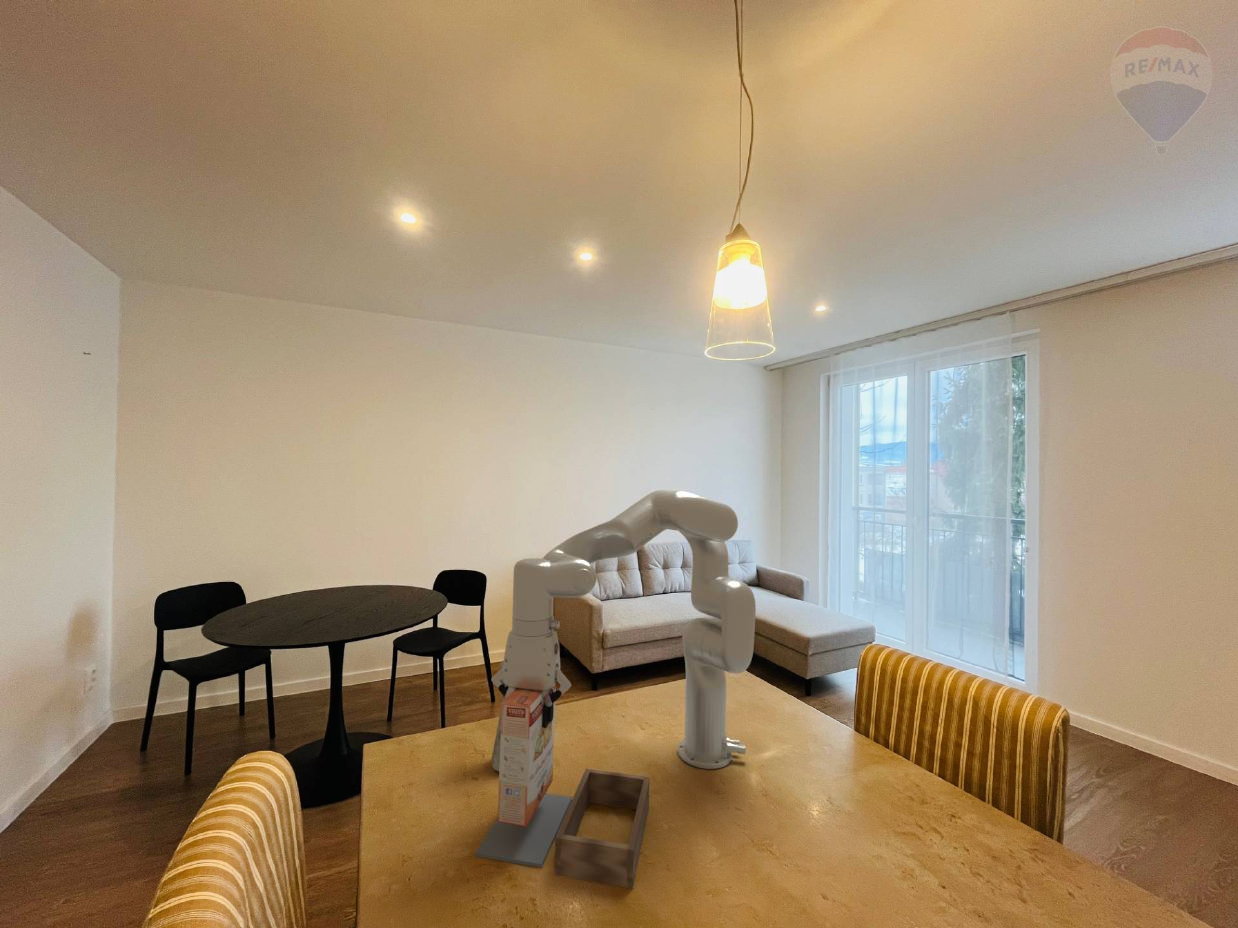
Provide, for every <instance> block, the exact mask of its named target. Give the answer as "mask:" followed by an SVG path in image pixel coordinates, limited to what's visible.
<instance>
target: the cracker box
mask: <svg viewBox="0 0 1238 928" xmlns="http://www.w3.org/2000/svg"><path fill="white" fill-rule="evenodd" d="M553 688H554V691H556V690H557V682H555V683H554V687H553ZM544 704H545V701H544V698H543V695H542V692H541V691H540V690H530V689H521V688H516V689H515V690H514V691H513V692H512V693H511V694H510V695H509V696H508V697H507V698H506V699H505V700H504V701H503V702H502V701H501V705H502V713H501V739H500V767H499V771H498V773H499V774H498V798H497V802H498V803H497V818H498V822H502V823H507V824H513V825H519V826H524V827H527V825H528V823H529V821H530V819H531V818H532V816H533V814H534V812H535V811H536V809H537V807H538V805H539V804H540V802H541V800H542V798H543V797H544V795H545V793H547V792H548V790H549V788H550V786H551V784H552V782H553V780H554V779H553V777H554V775H553V774H554V748H555V721H556V719H555V718H556V717H555V716H556V712H555V711H556V701H555V702H554V714H553V720H552V722H550V723H549V725H548V726H547V728H543V727H542V711H543V706H544Z"/></svg>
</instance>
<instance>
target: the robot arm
mask: <svg viewBox="0 0 1238 928" xmlns="http://www.w3.org/2000/svg"><path fill="white" fill-rule="evenodd" d="M738 526H739V521H738V515H737V514H736V511H735V510H734V509H733V508H732V507H731V506H729V504H726V503H723V502H721V501H720V502H719V501H718V500H717V501H716V500H713V499H710V498H708V497H707V498H706V497H703V496H701V495H697V494H694V493H691V492H687V491H684V490H683V491H681V490H666V489H665V490H654V491H653V492H650V493H648V494H647V495H645V496H644V497H642V498H640V499H639V500H638V501H637V502H635V503H633V504H632V505H631V506H629V507H628V508H627V509H624V511H622V512H620V513H619V514H618V515H616V516H615V517H613V518H612V519H610V520H607V521H606V522H602V523H599V524H597V525H596V526H593V527H590V528H588V529H587V530H583V531H581V532H579V533H577V534H574V535H572V536H571V537H568V538H567V539H566V540H564V541H562V542H560V544H558V545H557V546H555V547H554V548H552V549H551V550H549V551H548V552H547V553H546V554H545V555H544V556H543V557H542V558H534V557H533V558H532V557H531V558H524V559H520V560H518V561H517V562H516V563H515V564H514V566H513V588H512V617H511V618H512V621H511V630H510V631H508V635H507V640H506V644H505V650H504V655H503V660H504V664H503V667H502V668H501V669H500V668H499V670H498V671H497V672H496V673H495V674H494V675H493V676H492V677H491V682H492V683H493V684H494V685H495V687H497V688H498V691H499V692H500V693H501V695H502V697H503V696H504V697H505V698H504V699H506V698H507V697H508V696H509V695H510V694H511V693H512V692H513V691H514V690H515V689H516V688H521V689H530V690H540V691H541V692H542V695H543V698H544V701H545V704H544V706H543V711H542V727H543V728H547V726H548V725H549V723H550V722H552V720H553V714H554V702H555V703H556V701H557V700H559V698H560V697H561V696H562V695H564V694H565V693H566V692H567V691H569V689H570V688H571V687H572V682H570V680H569V679H568V678H567V677H566V675H565V674H564V673H563V672H562V670H561V657H560V644H559V643H560V642H559V638H558V633H557V631H555V630H558V629H560V626H561V622H560V621H559V620H555V616H554V614H553V613H554V598H572V599H573V598H575V599H576V598H581V597H584V596H586V595H588V594H589V593H590V592H592V591H593V589H594V587H595V585H597V584H596V582H597V579H598V578H597V571H596V569H595V567H594V566H593V565H592V564H594V563H596V562H598V561H603V560H606V559H607V560H608V559H614V558H616V559H617V558H622V557H627V556H630V555H633V554H635V553H636V552H637V551H639V550H640V549H642V548H643V547H644V546H645V545H647V544H648V543H649V542H650V541H652V540H653V539H654V538H656V537H657V536H659V535H660V534H661V533H662V532H664V531H667V530H672V531H677V532H679V533H680V534H681V535H682V536H683V537H684V538H685V540H686V541H687V543H688V544H689V547H690V549H691V553H692V554H691V555H692V570H691V585H690V587H691V588H690V600H691V605H692V606H693V608H694V609H695V610H696V611H698V612H699V613H702V614H704V615H707V616H710V617H713V618H716V619H719V620H721V622H719V621H715V620H712V619H709V618H707V617H706V618H705V617H704V618H703V617H697V618H694V619H692V620H690V621H689V622H687V624H686V625H685V627H684V629H683V631H682V632H683V633H682V637H681V642H682V651H683V655H684V663H685V664H684V665H685V697H684V698H685V699H684V700H685V701H684V702H685V703H684V705H685V707H684V708H685V710H684V711H685V712H684V719H685V720H684V739H682V740H681V741H680V742H679V743H678V747H677V753H678V756H679V758H680V759H681V760H683V762H685V763H687V764H688V765H691V766H693V767H696V768H699V769H706V770H716V769H720V768H724V767H726V766H727V765H729V764H730V763H731V762H732V759H733V753H734V754H735V753H736V754H739V755H741V754H742V755H746V744H742V743H741V744H740V739H730V737H728V733H727V730H726V729H727V728H726V726H727V725H726V722H727V717H726V716H727V715H726V714H727V676H726V673H729V674H734V675H739V674H741V673H743V672H745V671H746V670H747V669H748V668H749V666H750V665H751V662H752V658H753V656H754V648H755V632H756V631H755V629H756V628H755V627H756V613H757V611H756V609H757V608H756V606H757V605H756V599H755V595H754V592H753V590H752V589H751V587H750V586H749V585H748V584H747V583H745V582H743V581H741V580H738V579H734V578H730V577H729V552H728V548H727V545H726V543H725V542H726V541H729V540H730V539H732V538H733V537H734V536H735V534H736V532H737V530H738ZM725 672H726V673H725ZM502 677H503V678H502ZM555 682H556V683H558V684H559V685H560V686H559V687H558V688H556V691H554V688H553V687H554V683H555Z"/></svg>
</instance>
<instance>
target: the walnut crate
mask: <svg viewBox="0 0 1238 928" xmlns="http://www.w3.org/2000/svg"><path fill="white" fill-rule="evenodd" d="M589 803H590V804H596V805H597V804H598V805H602V806H603V805H604V806H610V807H618V808H625V809H631V810H636V812H635V816H634V818H633V819H634V820H633V823H632V828H631V833H630V836H629V841H628V843H627V844H626V843H619V842H613V841H607V840H599V839H594V838H587V837H582V836H577V835H578V831H579V830H580V829H579V828H580V827H581V824H582V821H583V819H584V816H585V814H586V811H587V808H588V806H589ZM649 809H650V776H644V775H638V774H637V775H636V774H628V773H621V772H616V771H615V772H614V771H605V770H598V769H592V768H585V770H584V771H583V774H582V776H581V779H580V781H579V783H578V786H577V788H576V790H575V793H574V794H573V797H572V801H571V803H570V806H569V808H568V810H567V812H566V815H565V817H564V819H563V821H562V824H561V826H560V828H559V830H558V833H557V835H556V837H555V839H554V869H553V870H554V874H553V875H554V876H558V877H564V878H569V879H575V880H580V881H581V880H582V881H585V882H592V883H598V884H602V885H603V884H604V885H609V886H615V887H618V888H619V887H622V888H625V889H626V888H627V889H632V890H633V889H634V885H635V879H636V875H637V869H638V865H639V859H640V856H641V855H640V854H641V850H642V849H641V848H642V845H643V841H644V840H643V839H644V834H645V829H646V825H647V820H648V816H649V815H648V814H649Z"/></svg>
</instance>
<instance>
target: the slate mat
mask: <svg viewBox="0 0 1238 928" xmlns="http://www.w3.org/2000/svg"><path fill="white" fill-rule="evenodd" d="M572 799H573V797H572V796H568V795H561V794H554V793H547V792H546V793H545V795H544V797H543V798H542V800H541V802H540V804H539V805H538V807H537V809H536V811H535V812H534V814H533V816H532V818H531V819H530V821H529V823H528V825H527V827H524V826H519V825H513V824H507V823H502V822H498V817H496V819H495V821H494V822H493V824H492V825H491V826H490V829H489V830H488V831H487V833H486V835H485V836H484V838H483V840H482V841H481V843H479V846H478V847H477V849H476V850H475V852H474V857H476V858H477V857H478V858H482V859H483V858H484V859H487V860H488V859H489V860H495V861H501V862H507V863H512V864H518V865H524V866H529V867H534V868H540V869H541V868H543V866H544V864H545V862H546V860H547V857H548V855H549V854H550V850H551V848H552V846H553V843H555V837H556V835H557V833H558V830H559V828H560V826H561V824H562V821H563V819H564V817H565V815H566V812H567V810H568V808H569V806H570V803H571V801H572Z"/></svg>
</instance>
